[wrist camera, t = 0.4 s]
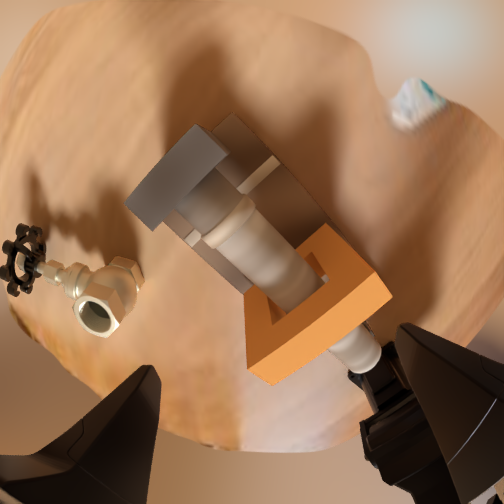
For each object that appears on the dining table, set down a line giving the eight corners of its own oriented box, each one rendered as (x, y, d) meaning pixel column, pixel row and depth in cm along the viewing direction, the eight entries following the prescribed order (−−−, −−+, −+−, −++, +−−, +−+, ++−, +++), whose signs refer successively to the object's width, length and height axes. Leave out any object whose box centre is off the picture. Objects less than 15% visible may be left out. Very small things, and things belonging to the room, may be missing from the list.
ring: (341, 242, 20) (392, 297, 12) (261, 309, 22) (272, 385, 14) (325, 222, 19) (375, 271, 12) (243, 293, 21) (247, 369, 13)
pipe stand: (382, 289, 24) (426, 340, 16) (310, 347, 26) (330, 409, 18) (232, 113, 18) (229, 92, 10) (147, 200, 20) (101, 232, 12)
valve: (152, 246, 21) (40, 212, 20) (124, 285, 15) (-6, 236, 13) (143, 311, 24) (40, 274, 22) (120, 359, 18) (4, 307, 16)
